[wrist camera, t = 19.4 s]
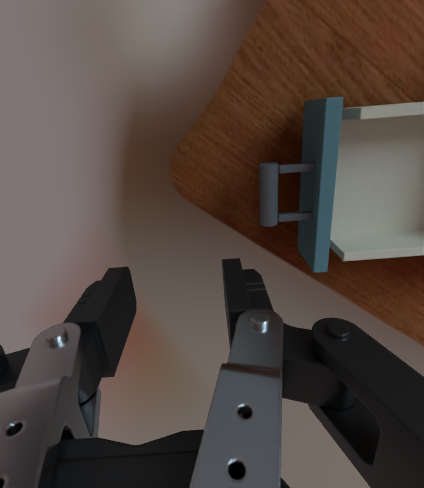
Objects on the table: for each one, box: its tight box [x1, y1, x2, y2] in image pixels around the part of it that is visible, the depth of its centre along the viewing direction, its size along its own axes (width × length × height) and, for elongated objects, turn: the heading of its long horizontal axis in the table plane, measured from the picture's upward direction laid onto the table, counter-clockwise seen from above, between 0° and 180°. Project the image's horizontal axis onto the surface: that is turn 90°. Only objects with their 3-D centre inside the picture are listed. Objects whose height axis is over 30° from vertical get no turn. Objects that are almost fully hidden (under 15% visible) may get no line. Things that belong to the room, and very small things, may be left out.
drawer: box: [259, 97, 424, 273], centre depth 25 cm, size 23×14×5 cm, turn 94°
